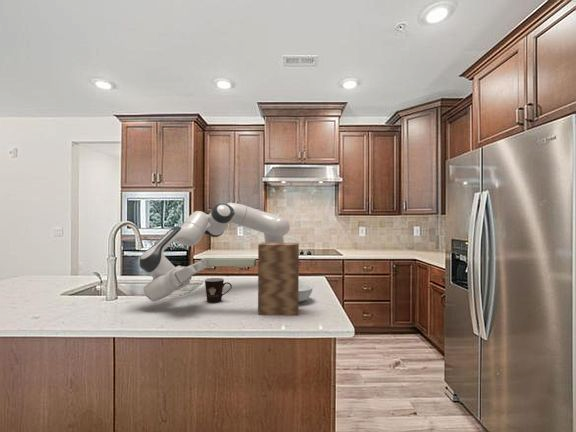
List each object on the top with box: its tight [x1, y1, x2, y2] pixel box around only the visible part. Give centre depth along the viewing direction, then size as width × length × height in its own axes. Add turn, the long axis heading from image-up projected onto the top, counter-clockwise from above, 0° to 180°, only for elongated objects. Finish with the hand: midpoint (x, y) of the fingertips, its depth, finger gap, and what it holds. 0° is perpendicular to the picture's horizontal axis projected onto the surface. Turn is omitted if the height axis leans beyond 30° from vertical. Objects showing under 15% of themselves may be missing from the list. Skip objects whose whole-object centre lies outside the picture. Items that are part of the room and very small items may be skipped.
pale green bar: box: [200, 257, 257, 268], centre depth 147 cm, size 22×4×3 cm, turn 87°
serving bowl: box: [298, 282, 313, 303], centre depth 165 cm, size 21×21×7 cm
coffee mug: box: [204, 277, 233, 304], centre depth 162 cm, size 12×9×10 cm
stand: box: [257, 242, 300, 316], centre depth 146 cm, size 16×10×28 cm, turn 87°
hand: (208, 260), depth 147 cm, fingers closed on pale green bar, 4 cm apart
